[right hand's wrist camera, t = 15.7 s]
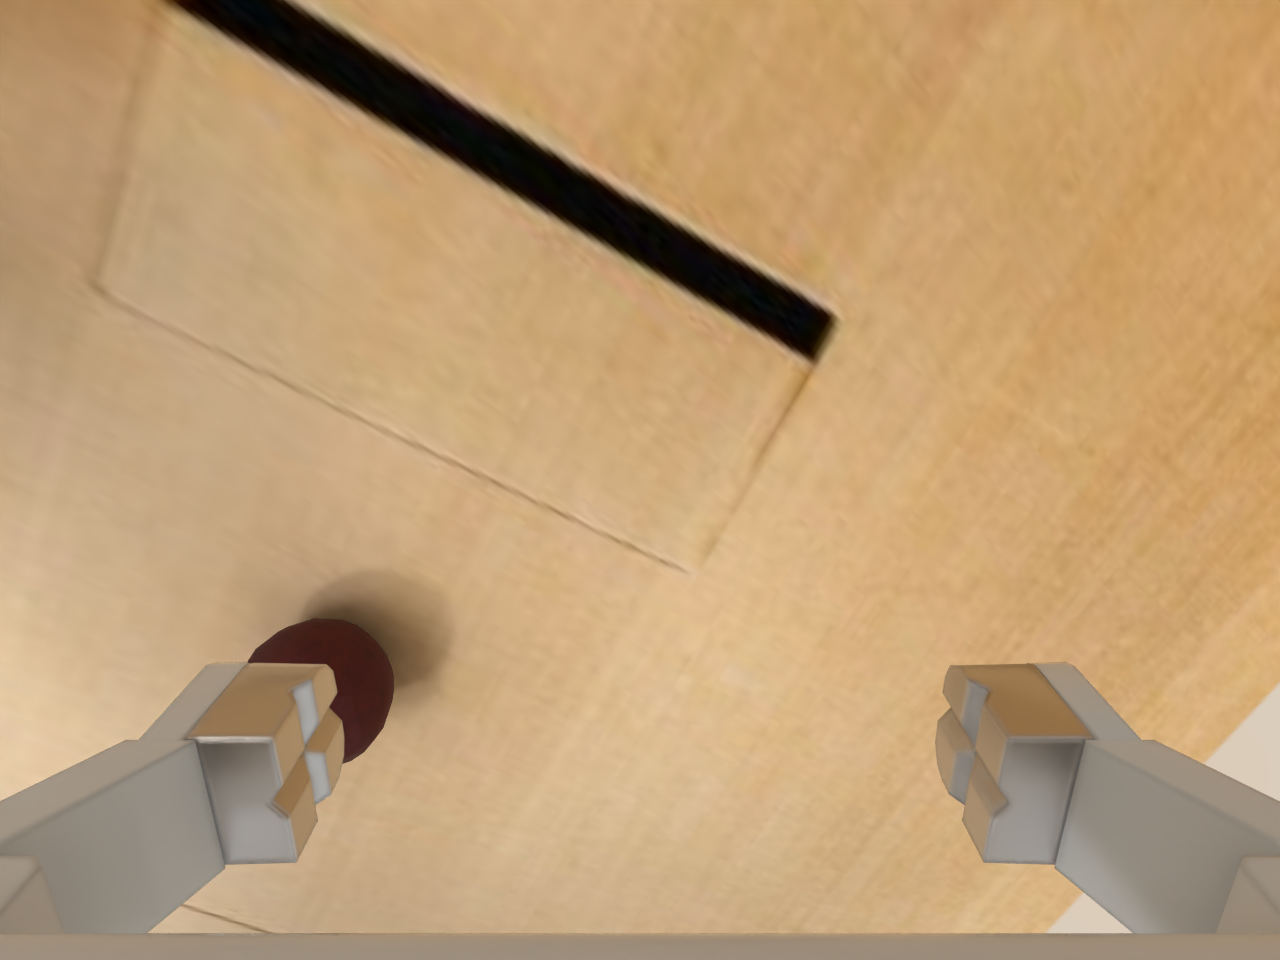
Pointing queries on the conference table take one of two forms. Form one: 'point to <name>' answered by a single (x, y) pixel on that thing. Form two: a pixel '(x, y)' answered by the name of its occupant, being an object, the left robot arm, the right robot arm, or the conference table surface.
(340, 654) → the dark maroon ball
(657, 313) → the conference table surface
